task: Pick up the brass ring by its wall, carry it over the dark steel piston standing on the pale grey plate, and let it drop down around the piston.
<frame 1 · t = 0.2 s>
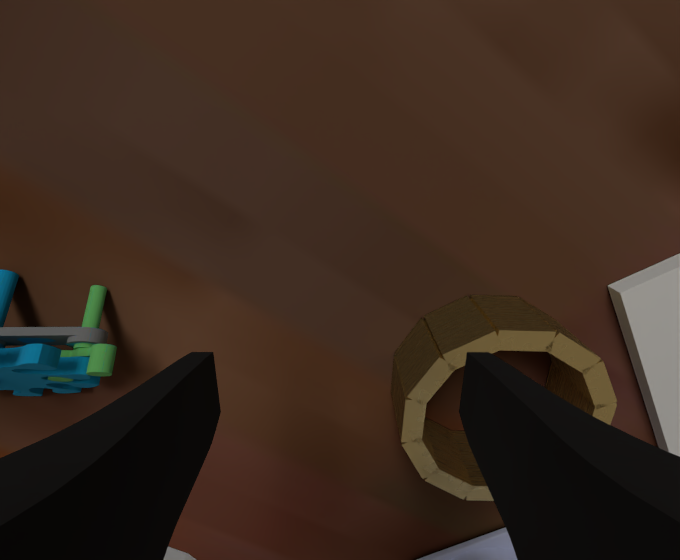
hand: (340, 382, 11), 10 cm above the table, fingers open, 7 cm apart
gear: (47, 328, 22), on the table
brass ring: (478, 375, 23), on the table
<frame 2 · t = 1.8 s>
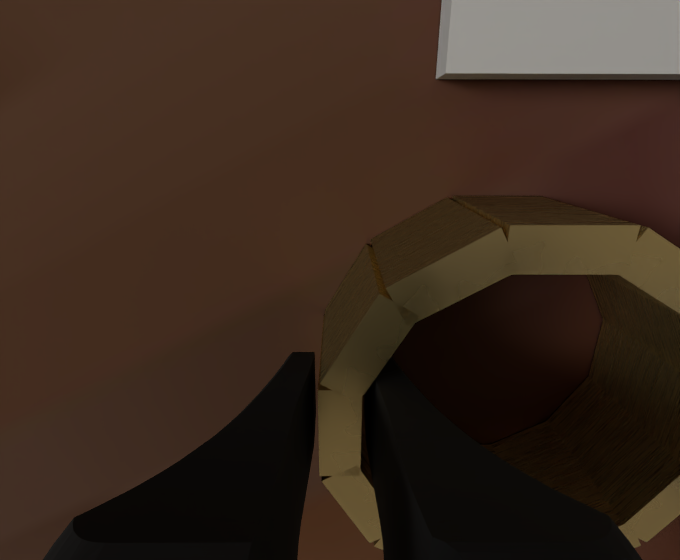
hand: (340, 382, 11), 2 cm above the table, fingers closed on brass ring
brass ring: (475, 348, 13), on the table, touching gripper
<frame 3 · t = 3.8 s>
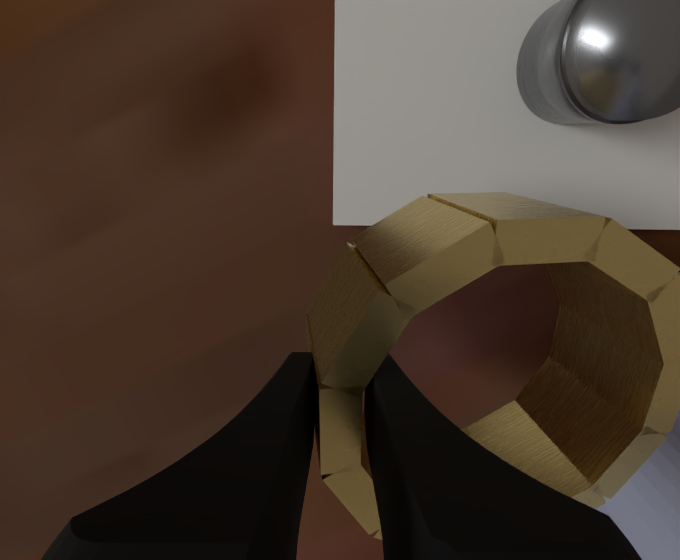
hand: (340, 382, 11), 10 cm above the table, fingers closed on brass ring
piston stand: (561, 66, 17), on the table
brass ring: (450, 338, 14), point 7 cm above the table, tilted 9°, touching gripper
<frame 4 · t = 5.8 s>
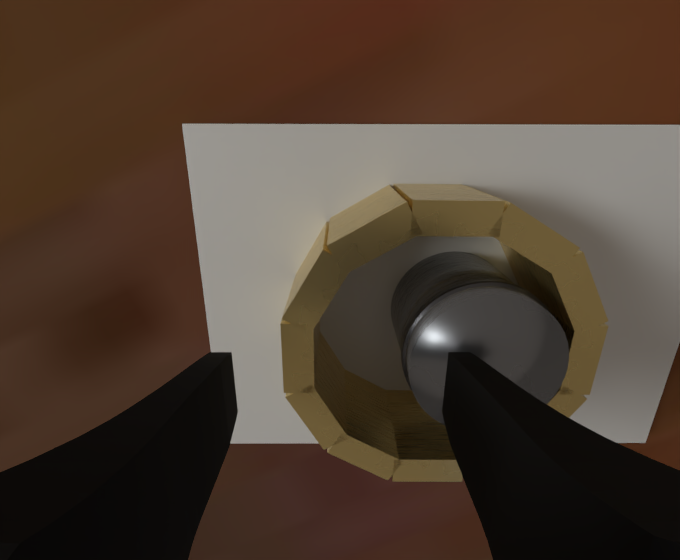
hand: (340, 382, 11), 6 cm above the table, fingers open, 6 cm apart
piston stand: (442, 298, 17), on the table
brass ring: (416, 308, 16), point 1 cm above the table, touching piston stand
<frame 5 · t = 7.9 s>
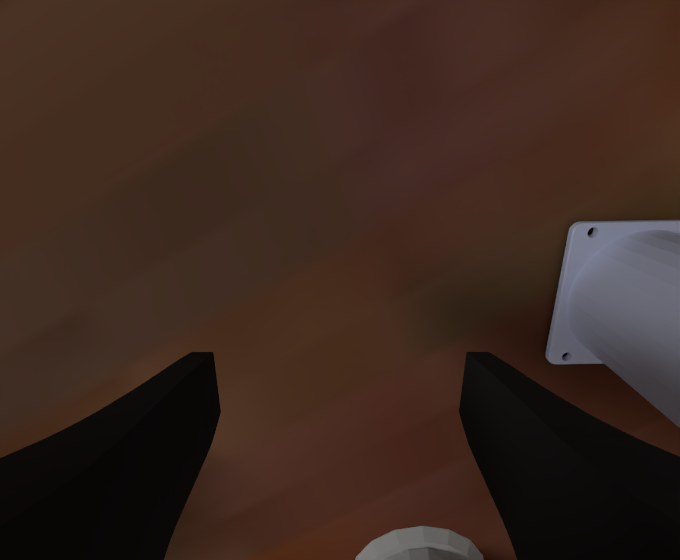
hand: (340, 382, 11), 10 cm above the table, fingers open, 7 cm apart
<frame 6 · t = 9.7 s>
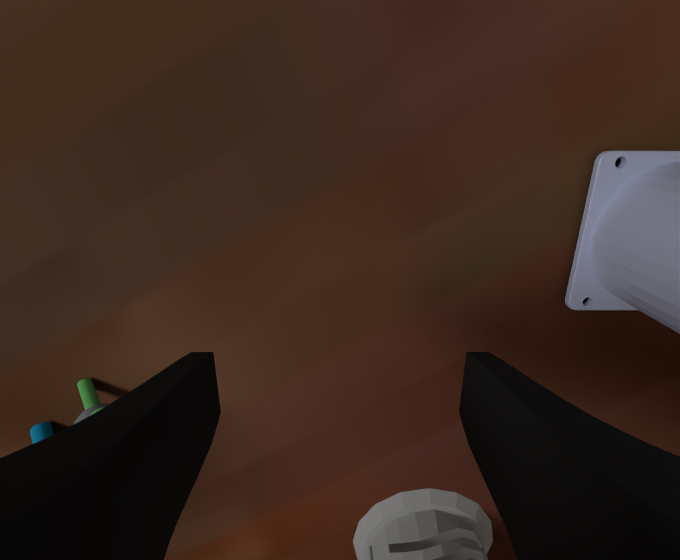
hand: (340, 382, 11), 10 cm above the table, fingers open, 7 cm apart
french press: (409, 538, 28), on the table
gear: (104, 439, 25), on the table
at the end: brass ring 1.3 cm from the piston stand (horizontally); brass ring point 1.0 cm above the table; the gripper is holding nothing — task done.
